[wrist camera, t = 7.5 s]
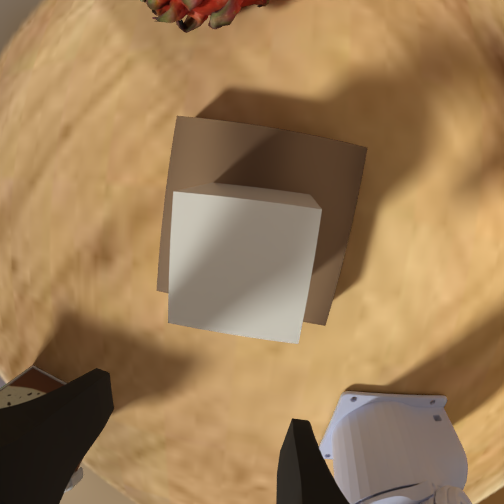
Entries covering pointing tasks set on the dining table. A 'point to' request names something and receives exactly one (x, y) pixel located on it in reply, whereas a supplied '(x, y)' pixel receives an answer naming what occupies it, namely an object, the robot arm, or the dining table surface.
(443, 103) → the dining table surface
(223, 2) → the dragon fruit
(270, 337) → the ceramic block
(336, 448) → the robot arm
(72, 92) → the dining table surface
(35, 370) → the food container
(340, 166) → the block
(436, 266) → the dining table surface
